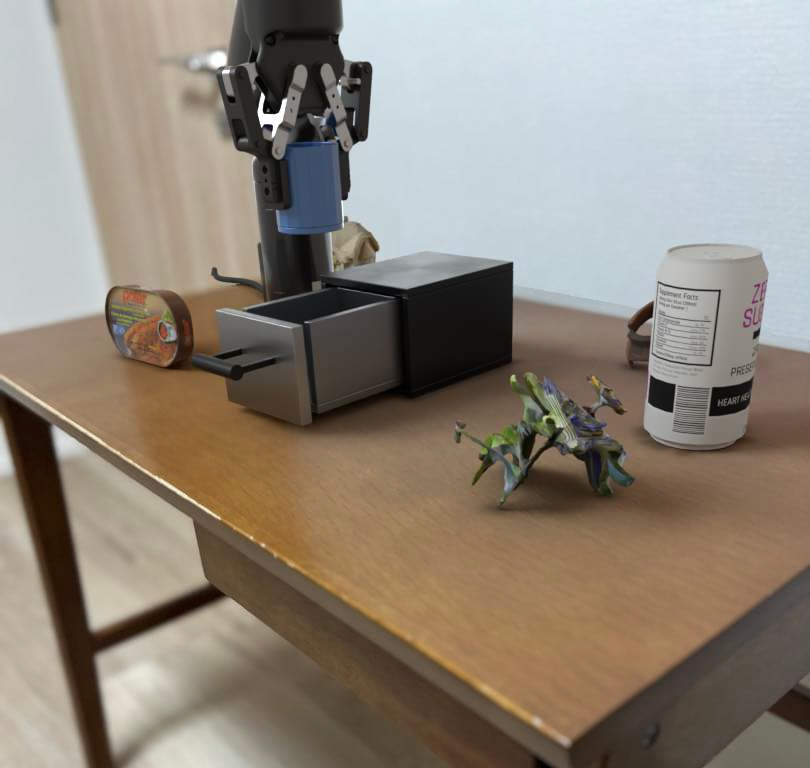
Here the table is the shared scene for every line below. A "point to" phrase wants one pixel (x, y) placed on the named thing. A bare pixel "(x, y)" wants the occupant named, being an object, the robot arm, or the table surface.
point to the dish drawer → (309, 351)
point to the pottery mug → (639, 336)
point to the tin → (149, 324)
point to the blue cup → (312, 189)
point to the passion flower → (555, 436)
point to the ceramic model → (353, 246)
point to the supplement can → (704, 344)
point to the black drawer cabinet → (443, 314)
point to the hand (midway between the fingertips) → (309, 203)
